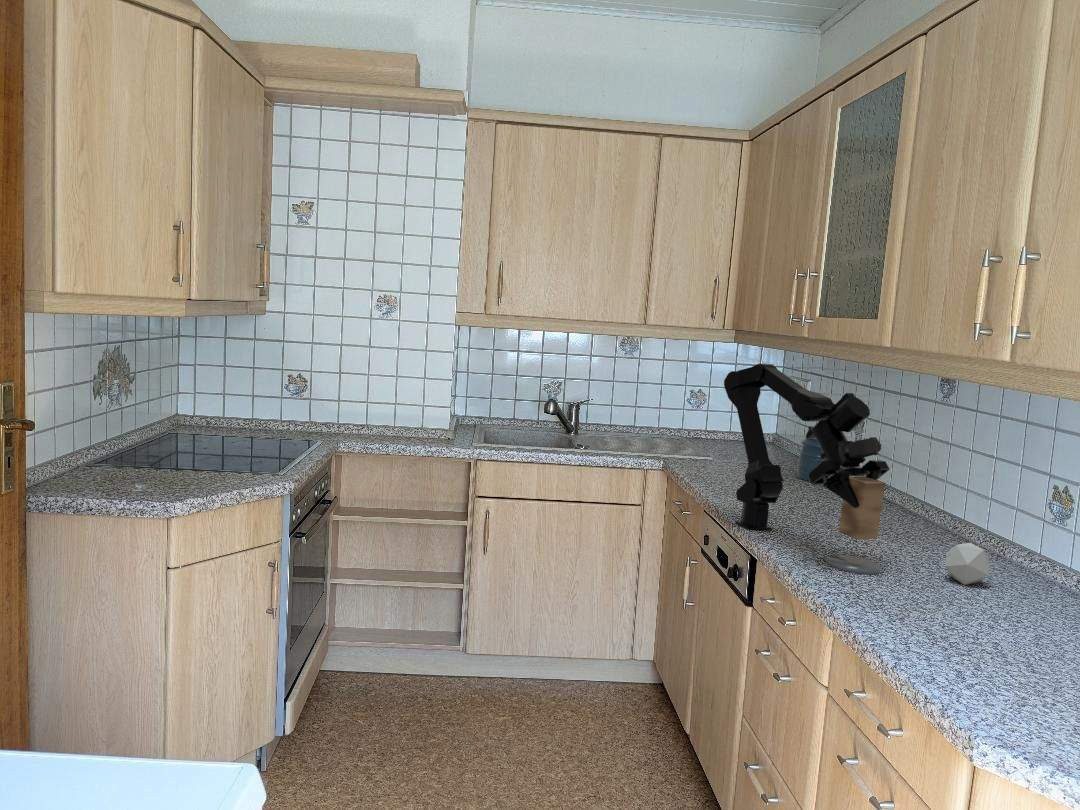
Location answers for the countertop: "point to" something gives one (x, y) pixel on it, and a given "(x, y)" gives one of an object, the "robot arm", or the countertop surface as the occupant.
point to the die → (967, 563)
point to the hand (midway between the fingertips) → (867, 506)
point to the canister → (809, 458)
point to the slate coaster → (853, 564)
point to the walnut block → (863, 509)
